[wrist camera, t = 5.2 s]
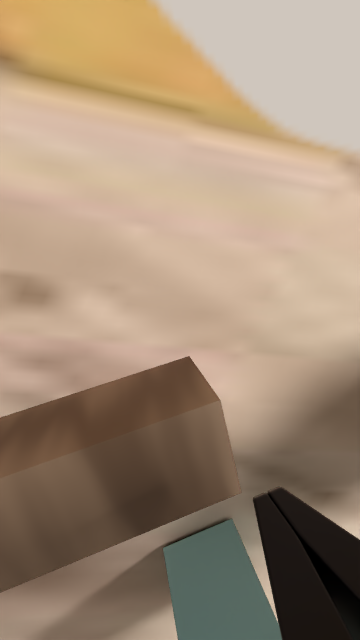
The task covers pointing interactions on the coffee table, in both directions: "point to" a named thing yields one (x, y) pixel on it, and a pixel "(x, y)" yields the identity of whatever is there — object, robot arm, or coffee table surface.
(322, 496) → the coffee table surface
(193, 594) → the teal block
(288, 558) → the robot arm
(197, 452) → the walnut block
